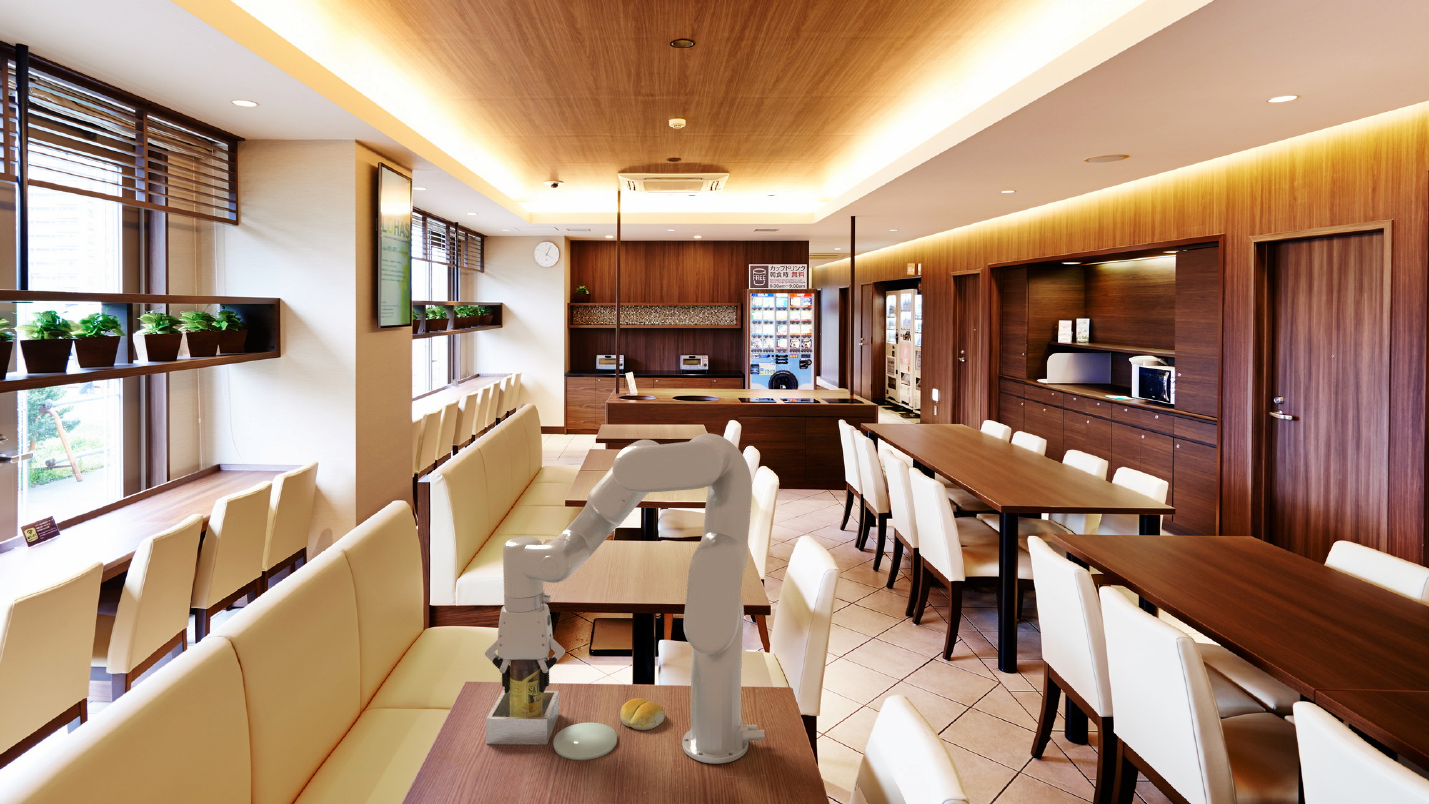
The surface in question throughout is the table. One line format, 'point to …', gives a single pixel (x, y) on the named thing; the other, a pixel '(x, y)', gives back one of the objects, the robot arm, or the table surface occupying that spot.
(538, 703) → the sauce bottle
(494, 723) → the square storage bin
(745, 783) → the table surface
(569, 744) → the saucer
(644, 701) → the bread roll
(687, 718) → the table surface
